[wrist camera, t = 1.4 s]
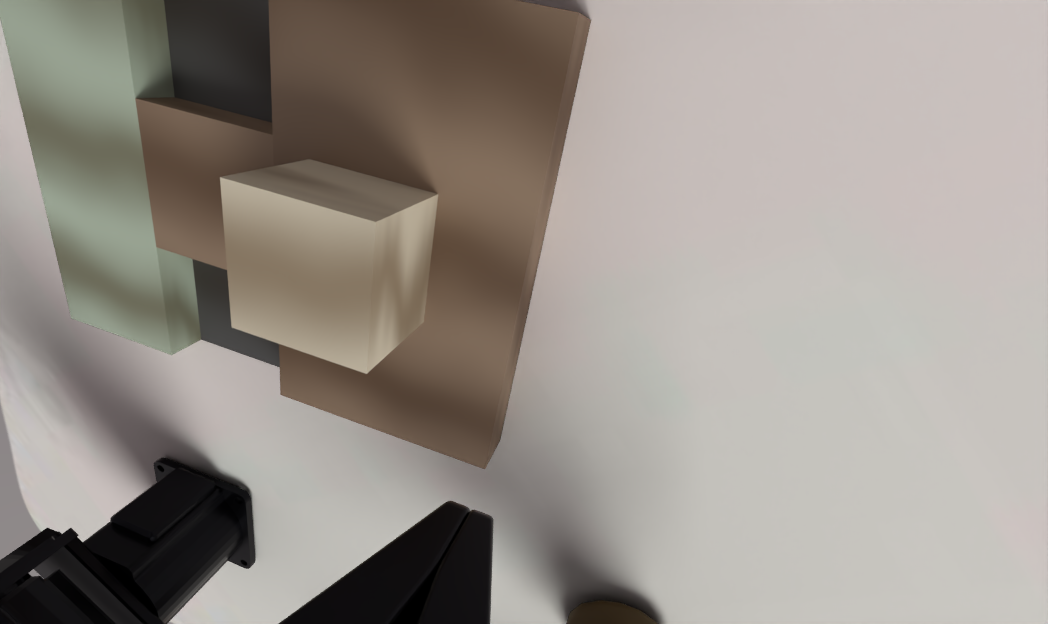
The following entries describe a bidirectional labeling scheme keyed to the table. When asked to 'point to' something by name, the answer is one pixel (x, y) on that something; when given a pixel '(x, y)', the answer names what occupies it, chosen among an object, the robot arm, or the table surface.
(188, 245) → the trap deck
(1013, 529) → the table surface
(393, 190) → the birch block
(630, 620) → the kendama
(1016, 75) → the table surface
